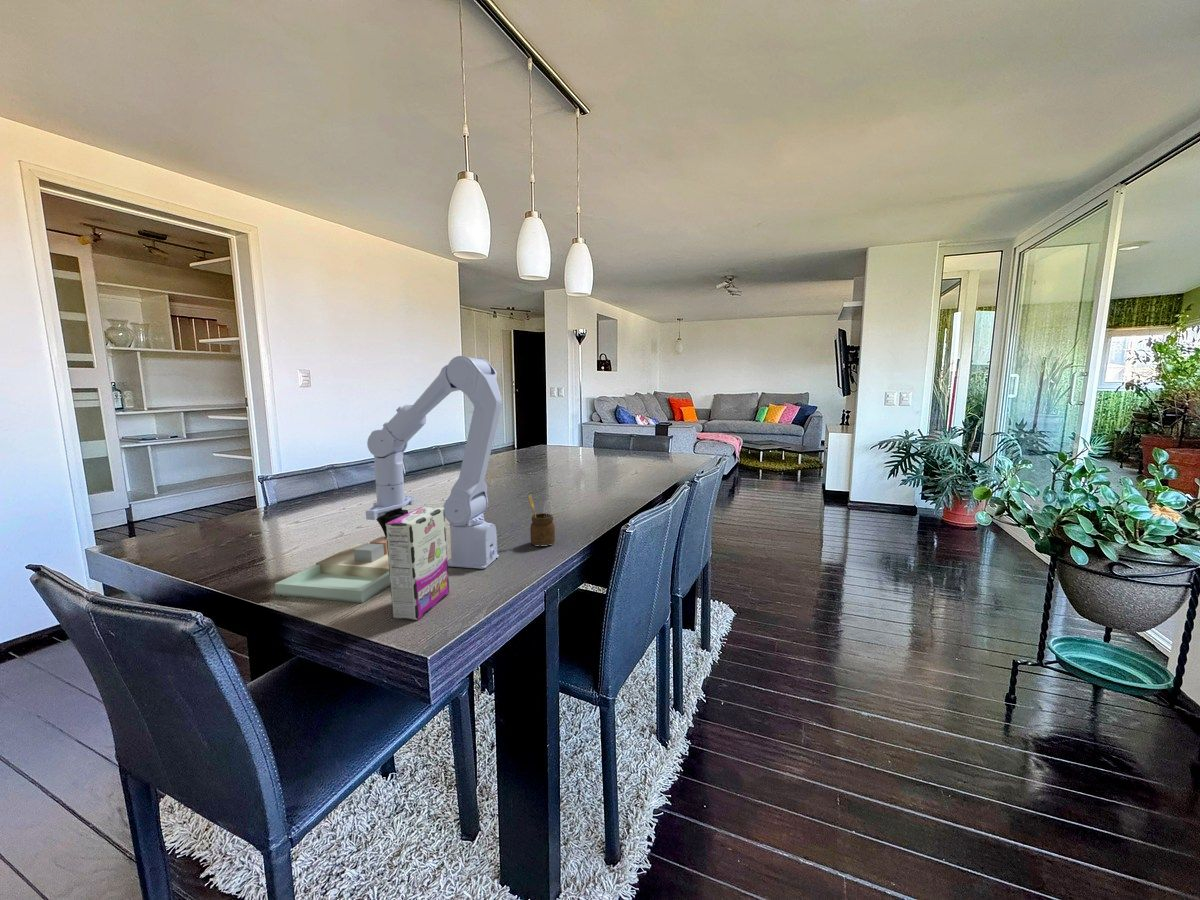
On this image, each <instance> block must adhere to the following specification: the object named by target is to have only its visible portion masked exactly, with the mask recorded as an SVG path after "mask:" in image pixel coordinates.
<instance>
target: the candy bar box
mask: <svg viewBox="0 0 1200 900" xmlns="http://www.w3.org/2000/svg"><path fill="white" fill-rule="evenodd" d="M385 525H386V536H387V550H388V562H389V573H390V586H389V587H390V597H391V599H390V600H391V613H392V618H393V619H395V620H396V619H397V620H411V621H412V620H413V621H419V620H420V619H421V618H422V617H423V615H424V616H425V615H426V614H428V612H429V611H431V609H433V608H434V607H435V606H436V605H438V603H440V602H441V601H443V599H444V598H446V597H447V595H448V594H450V581H449V566H448V563H447V561H448V551H447V535H446V533H447V532H446V518H445V514H444V508H443V507H438V506H420V507H418V508H416V509H414V510H412V511H408V513H407V514H405V515H403V516H401V517H399V518H397V519H394V520H392V521H390V522H388V523H386V524H385Z"/></svg>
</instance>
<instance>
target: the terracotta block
mask: <svg viewBox="0 0 1200 900" xmlns="http://www.w3.org/2000/svg"><path fill="white" fill-rule="evenodd" d="M369 544H383V546H384V554H388V550H387V537H385V536H380V537H379V536H378V537H377V538H375V539H373V540H371V541H369Z"/></svg>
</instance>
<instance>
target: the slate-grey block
mask: <svg viewBox="0 0 1200 900" xmlns="http://www.w3.org/2000/svg"><path fill="white" fill-rule="evenodd" d="M363 544H364V545H362V546H360V547H358V548H356V549H354V560H355V561H359V562H374V561H375V560H377V559H379V558H381V557H383V556H384V546H383V544H370V543H363Z"/></svg>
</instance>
